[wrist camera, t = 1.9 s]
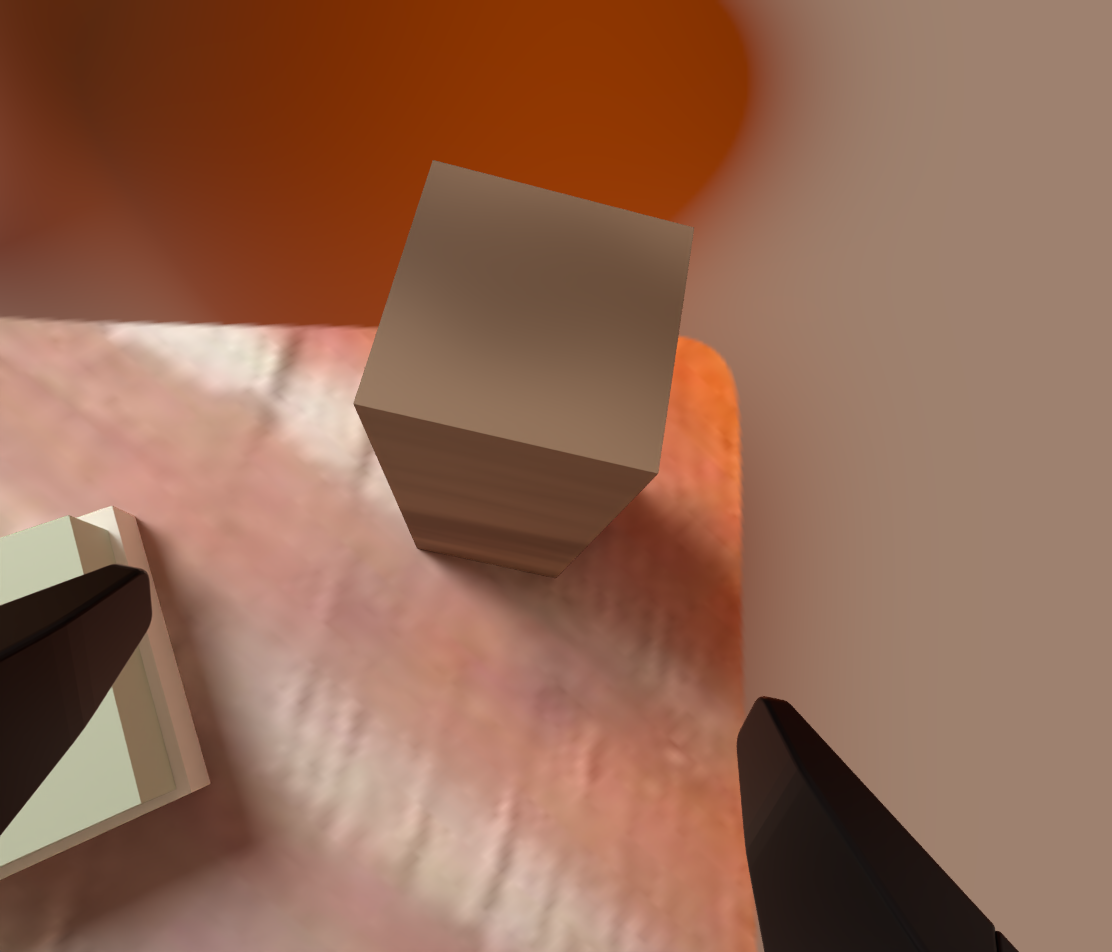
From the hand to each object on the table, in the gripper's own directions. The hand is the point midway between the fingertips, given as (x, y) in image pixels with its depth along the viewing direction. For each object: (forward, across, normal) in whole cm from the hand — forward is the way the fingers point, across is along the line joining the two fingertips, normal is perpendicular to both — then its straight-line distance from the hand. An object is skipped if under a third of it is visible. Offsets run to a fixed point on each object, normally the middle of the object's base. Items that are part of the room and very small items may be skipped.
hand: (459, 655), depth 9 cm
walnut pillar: (+13, 0, +5) cm, 14 cm away
